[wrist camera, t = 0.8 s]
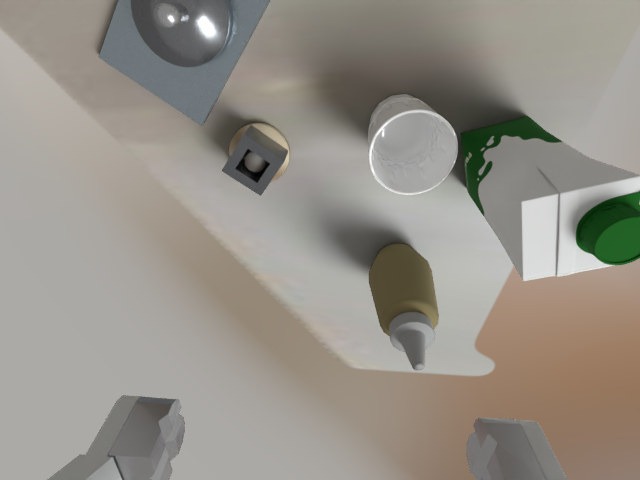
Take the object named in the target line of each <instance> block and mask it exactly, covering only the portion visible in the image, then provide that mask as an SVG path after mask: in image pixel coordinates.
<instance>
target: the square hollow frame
mask: <svg viewBox="0 0 640 480" xmlns="http://www.w3.org/2000/svg"><path fill="white" fill-rule="evenodd" d="M248 149H249V150H251V151H252V152H254V153H255V154H257V155H258V156H260V157H261V158H263V159H264V160H266V161H267V162H269V163H268V164H267V166H266V167H265V169H264V170H263V171H262V170H261V171H259V172H252V171H250V170H249V169H248V168H247V167H246V165H245V159H244V158H243V156H244V155H245V153H246V151H247V150H248ZM287 153H288V150H287V149H285V148H284V147H282V146H281V145H280V144H278V143H277V142H275V141H274V140H272V139H271V138H269V137H268V136H267V135H265V134H264V133H262V132H261V131H259V130H258V129H256V128H255V127H254V126H252V125H250V127H249V128H248V129H247V131H246V132H245V133H244V135H243V136H242V138H241V140H240V141H239V143H238V145H237V146H236V148H235V150H234V151H233V153H232V154H231V156H230V158H229V159H228V161H227V163H226V164H225V166H224V168H223V169H222V171H223V172H224V173H226V174H227V175H229V176H231V177H232V178H234V179H235V180H237V181H238V182H240V183H242V184H243V185H245V186H246V187H248V188H249V189H251V190H253V191H254V192H256V193H257V194H259V195H260V196H261V195H262V193H263V192H264V190H265V189H266V187H267V186H268V185H269V183H270V182H271V180H272V179H273V177H274V176H275V174H276V173H277V172H278V170H279V169H280V167H281V166H282V164H283V163H284V161H285V159H286V156H287Z"/></svg>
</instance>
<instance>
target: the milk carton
mask: <svg viewBox="0 0 640 480" xmlns="http://www.w3.org/2000/svg"><path fill="white" fill-rule="evenodd" d="M461 138H462V148H463V158H464V168H465V178H466V188H467V190H468V193H469V195H470V196H471V198H472V199H473V201H474V202H475V204H476V205H477V207H478V208H479V210H480V211H481V213H482V214H483V216H484V217H485V219H486V220H487V222H488V223H489V225H490V226H491V228H492V229H493V231H494V232H495V234H496V235H497V237H498V238H499V240H500V242H501V243H502V245H503V247H504V249H505V250H506V252H507V254H508V255H509V257H510V259H511V261H512V262H513V264H514V266H515V268H516V269H517V271H518V273H519V274H520V276H521V278H522V280H523V281H526V280H532V279H538V278H543V277H548V276H554V275H555V276H557V277H559V276H565V275H570V274H572V273H577V272H582V271H588V270H593V269H598V268H603V267H608V266H614V265H622V264H627V263H630V262H632V261H635V260H637V259H639V258H640V205H639V201H640V191H639V189H640V175H638V174H635V173H633V172H629V171H627V170H624V169H620V168H617V167H614V166H612V165H608V164H606V163H603V162H600V161H597V160H594V159H591V158H589V157H587V156H585V155H583V154H582V153H580V152H578V151H577V150H575V149H574V148H572V147H571V146H569V145H567V144H566V143H564V142H562V141H561V140H559V139H558V138H556V137H554V136H553V135H551V134H550V133H548V132H546V131H545V130H544V129H543V128H542V127H540V126H539V125H538V124H537V123H536V122H534V121H533V120H532V119H531V118H530V117H528V116H526V117H522V118H519V119H515V120H511V121H507V122H503V123H499V124H495V125H492V126H488V127H484V128H480V129H476V130H472V131H468V132H465V133H461Z"/></svg>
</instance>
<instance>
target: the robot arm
mask: <svg viewBox="0 0 640 480" xmlns="http://www.w3.org/2000/svg"><path fill="white" fill-rule="evenodd" d="M180 409H181V405H180V401H179V400H178V399H166V398H152V397H142V396H126V395H123V396H121V397H120V399H118V400H117V402H116V403H115V405H114V407H113V408H112V410H111V412H110V414H109V415H108V417H107V419H106V421H105V422H104V424H103V426H102V427H101V429H100V431H99V432H98V434H97V436H96V438H95V440H94V442H93V443H92V445H91V446H90V448H89V450H88V452H87V453H86V455H79V456H78V457H77V458H75V459H74V460H72V461H71V462H70V463H68V464H67V465H66V466H65V467H63V468H62V469H61V470H60V471H58V472H57V473H55V474H54V475H53V476H51V477H50V478H49V479H48V480H169V479H170V476H171V473H172V467H171V463H170V461H171V460H172V459H173V458H174V457H175V456H176V455H177V454H179V451H180V448H181V445H182V442H183V437H184V432H185V422H184V417H183V416H181V415H180V414H179V411H180ZM474 429H475V432H474V433H472V434H471V435H469V438H468V441H467V449H466V450H467V452H466V454H467V460H468V464H469V468H470V472H471V473H472V474H473V475H474V476H475V478H476V479H477V480H567V478H566V476H565V474H564V472H563V470H562V468H561V466H560V464H559V462H558V460H557V458H556V456H555V455H554V452H553V450H552V449H551V446H550V444H549V443H548V440H547V439H546V436H545V435H544V433H543V431H542V429H541V427H540V425H539V424H538V423H537V422H535V421H526V420H514V419H495V418H478V419H476V421H475V423H474Z"/></svg>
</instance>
